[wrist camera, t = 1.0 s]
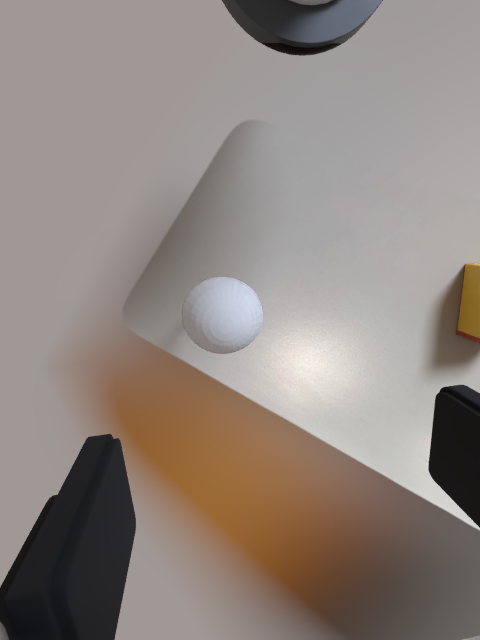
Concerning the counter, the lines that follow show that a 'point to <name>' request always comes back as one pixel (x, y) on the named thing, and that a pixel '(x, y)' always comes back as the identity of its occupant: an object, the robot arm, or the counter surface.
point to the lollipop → (222, 315)
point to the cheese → (470, 304)
